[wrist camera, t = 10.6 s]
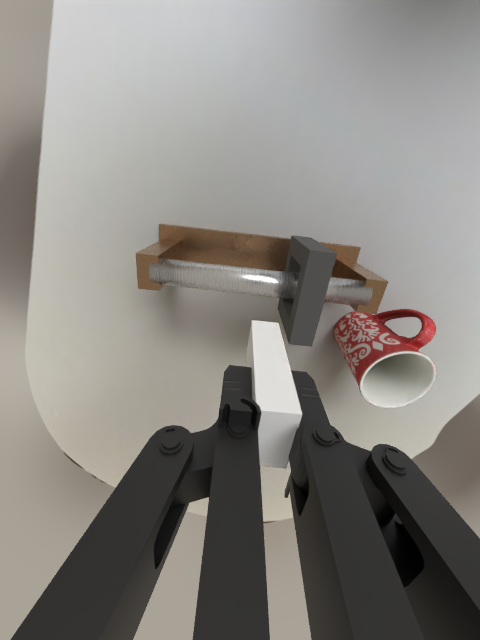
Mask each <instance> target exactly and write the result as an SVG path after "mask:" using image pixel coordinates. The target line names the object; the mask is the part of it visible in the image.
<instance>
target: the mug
mask: <svg viewBox="0 0 480 640" xmlns="http://www.w3.org/2000/svg"><path fill="white" fill-rule="evenodd" d="M402 317H417V318H419V319H420V320H421V322H422V328H421V330H420V332H419V334H418V335H416V336H415V337H412V338H406V337H403V336H398V335H397V334H396V333H394V332H393V331H392V330H391V329H389V328H388V327H387V326H386V325H384V324H385V322H386V321H388V320H391V319H395V318H402ZM435 332H436V326H435V323H434V321H433V320H432V319H431V318H429V317H428V316H427V315H425V314H423V313H421V312H418V311H415V310H410V309H399V310H392V311H387V312H383V313H379V314H376V315H372V314H370V313H363V312H356V311H355V312H351V313H349V314H347V315H345V316H344V317H342V318H341V319H340V320H339V321H338V323H337V325H336V327H335V330H334V336H335V339H336V341H337V343H338V345H339V347H340V349H341V351H342V353H343V355H344V357H345V360H346V361H347V363H348V365H349V367H350V369H351V371H352V373H353V375H354V377H355V379H356V381H357V383H358V385H359V389H360V392H361V394H362V396H363V397H364V399H365V400H366V401H368V402H369V403H370V404H372V405H375V406H377V407H382V408H397V407H401V406H405V405H408V404H410V403H413V402H415V401H416V400H418V399H420V398H421V397H422V396H423V395H425V394H426V393H427V392H428V391H429V389H430V388H431V387H432V385H433V383H434V381H435V378H436V367H435V364H434V363H433V361H432V360H431V359H430V358H429V357H428V356H426V355H425V354H423V353H420V352H418V350H419V349H420V348H421V347H423V346H424V345H426V344H427V343H428V342H430V341H431V340H432V338H433V337H434V335H435Z"/></svg>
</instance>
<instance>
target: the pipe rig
mask: <svg viewBox="0 0 480 640" xmlns="http://www.w3.org/2000/svg"><path fill="white" fill-rule="evenodd" d="M290 241H291V239H288V238H279V237H270V236H262V235H253V234H245V233H236V232H227V231H219V230H210V229H202V228H193V227H184V226H176V225H167V224H159V242H157V243H155V244H153V245H151V246H149V247H147V248H145V249H143V250H141V251H139V252H137V253H136V264H137V279H138V288H140V289H149V290H158V291H159V290H160V289H161V288H162V287H163V286H164V285H171V286H180V287H189V288H198V289H207V290H217V291H226V292H235V293H244V294H254V295H263V296H272V297H281V298H291V299H294V297H295V292H296V288H297V283H298V278H299V274H300V273H291V272H285V268H286V263H287V257H288V252H289V247H290ZM319 243H321V244H322V245H324V246H326V247H327V248H329V249H331V250H332V251H334V252H336V253H337V255H336V259H335V263H334V266H333V270H332V274H331V278H330V281H329V285H328V289H327V292H326V296H325V300H324V302H328V303H337V304H346V305H350V306H351V307H352V308H353V309H354V310H355V311H356V312H363V313H372V314H376V313H377V310H378V308H379V305H380V302H381V300H382V297H383V294H384V292H385V289H386V286H387V284H388V281H387V280H385V279H383V278H381V277H380V276H378V275H376V274H375V273H373V272H371V271H369V270H368V269H366V268H364V267H362V266H361V265H359V264H357V263H356V261H357V258H358V254H359V251H360V247H356V246H348V245H339V244H330V243H322V242H319Z"/></svg>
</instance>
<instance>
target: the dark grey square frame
mask: <svg viewBox="0 0 480 640" xmlns="http://www.w3.org/2000/svg"><path fill="white" fill-rule="evenodd" d="M336 255H337V253H336V252H334V251H332V250H331V249H329V248H327V247H326V246H324V245H322V244H321V243H319V242H317V241H315V240H314V239H312V238H308V237H299V236H291V241H290V247H289V252H288V257H287V263H286V268H285V272H291V273H300V274H299V278H298V283H297V288H296V292H295V297H294V299H291V298H281V297H280V300H279V305H278V310H279V313H280V316H281V320H282V323H283V326H284V329H285V332H286V336H287V339H288V342H289V344H293V345H303V346H312V344H313V340H314V337H315V333H316V329H317V326H318V322H319V318H320V314H321V311H322V307H323V303H324V300H325V296H326V292H327V289H328V285H329V281H330V278H331V274H332V270H333V266H334V263H335V259H336Z"/></svg>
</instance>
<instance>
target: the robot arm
mask: <svg viewBox="0 0 480 640" xmlns="http://www.w3.org/2000/svg"><path fill="white" fill-rule="evenodd" d="M288 461H290V467H291V473H290V476H289V480H288V483H287V486H286V489H285V498H288V495H289V492H290V496H291V503H292V510H293V517H294V523H295V530H296V537H297V544H298V550H299V557H300V563H301V570H302V577H303V583H304V591H305V597H306V604H307V611H308V618H309V625H310V631H311V638H312V640H480V538H478V536H477V535H476V534H475V533H474V532H473V530H472V529H471V528H470V527H469V526H468V525H467V523H466V522H465V521H464V520H463V519H462V518H461V516H460V515H459V514H458V513H457V512H456V511H455V509H454V508H453V507H452V506H451V505H450V504H449V502H448V501H447V500H446V499H445V498H444V497H443V496H442V494H441V493H440V492H439V491H438V490H437V489H436V487H435V486H434V485H433V484H432V483H431V482H430V481H429V479H428V478H427V477H426V476H425V475H424V474H423V472H422V471H421V470H420V469H419V468H418V467H417V465H416V464H415V463H414V462H413V461H412V460H411V459H410V458H409V457H408V456H407V455H406V454H405V453H404V452H402V451H400V450H399V449H397V448H396V447H393V446H390V445H387V444H378V445H376V446H374V447H373V449H372V451H368V450H366V449H363V448H360V447H358V446H355V445H352V444H350V443H348V442H346V441H345V440H344V438H343V437H342V435H341V433H340V432H339V431H338V430H337V429H336V428H334V427H333V426H331V425H330V423H329V420H328V418H327V415H326V412H325V410H324V407H323V404H322V402H321V399H320V397H319V393H318V391H317V388H316V385H315V383H314V380H313V379H312V378H311V377H310V376H309V375H308V373H307V372H299V371H291V369H290V365H289V361H288V357H287V354H286V350H285V346H284V342H283V338H282V334H281V331H280V327H279V323H275V322H265V321H256V320H252V321H251V328H250V335H249V341H248V348H247V355H246V367H243V366H233V365H229V367H228V368H227V369H226V370H225V372H224V378H223V387H222V395H221V404H220V408H219V417H218V420H217V421H216V423H215V424H214V425H213V426H212V427H210V428H208V429H206V430H203V431H200V432H195V433H190V432H189V431H188V430H187V429H185V428H184V427H182V426H175V425H172V426H167V427H164V428H162V429H160V430H158V431H157V432H156V433H155V434H154V435H153V436H152V437H151V438H150V439H149V441H148V442H147V444H146V445H145V447H144V448H143V449H142V451H141V452H140V454H139V455H138V457H137V458H136V460H135V461H134V462H133V464H132V465H131V467H130V468H129V470H128V471H127V473H126V474H125V475H124V477H123V478H122V480H121V481H120V483H119V484H118V486H117V487H116V488H115V490H114V491H113V493H112V494H111V496H110V497H109V499H108V500H107V501H106V503H105V504H104V506H103V507H102V509H101V510H100V511H99V513H98V514H97V516H96V517H95V519H94V520H93V522H92V523H91V524H90V526H89V528H88V529H87V530H86V532H85V533H84V535H83V536H82V538H81V539H80V540H79V542H78V543H77V545H76V546H75V548H74V549H73V551H72V552H71V553H70V555H69V556H68V558H67V559H66V561H65V562H64V563H63V565H62V566H61V568H60V569H59V571H58V572H57V574H56V575H55V576H54V578H53V579H52V581H51V583H50V584H49V585H48V587H47V588H46V589H45V591H44V592H43V594H42V595H41V597H40V598H39V599H38V601H37V602H36V604H35V605H34V607H33V608H32V610H31V611H30V612H29V614H28V615H27V617H26V618H25V620H24V621H23V623H22V624H21V626H20V627H19V628H18V630H17V631H16V633H15V634H14V635H13V637H12V639H11V640H133V638H134V636H135V633H136V631H137V628H138V626H139V624H140V621H141V619H142V616H143V614H144V611H145V609H146V607H147V604H148V602H149V599H150V597H151V594H152V592H153V590H154V587H155V585H156V582H157V580H158V578H159V575H160V572H161V570H162V568H163V565H164V563H165V560H166V558H167V556H168V553H169V551H170V548H171V546H172V544H173V541H174V539H175V536H176V534H177V532H178V529H179V527H180V524H181V522H182V519H183V517H184V515H185V512H186V510H187V507H188V505H189V502H193V501H196V500H200V499H203V498H207V497H209V504H208V513H207V523H206V530H205V539H204V548H203V556H202V565H201V573H200V582H199V591H198V599H197V608H196V616H195V625H194V633H193V640H270V635H269V617H268V600H267V582H266V565H265V547H264V532H263V512H262V495H261V477H260V466H265V467H276V468H287V464H288Z"/></svg>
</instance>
